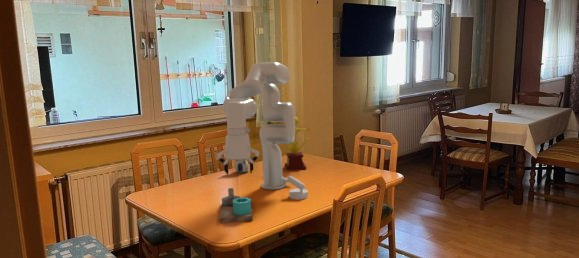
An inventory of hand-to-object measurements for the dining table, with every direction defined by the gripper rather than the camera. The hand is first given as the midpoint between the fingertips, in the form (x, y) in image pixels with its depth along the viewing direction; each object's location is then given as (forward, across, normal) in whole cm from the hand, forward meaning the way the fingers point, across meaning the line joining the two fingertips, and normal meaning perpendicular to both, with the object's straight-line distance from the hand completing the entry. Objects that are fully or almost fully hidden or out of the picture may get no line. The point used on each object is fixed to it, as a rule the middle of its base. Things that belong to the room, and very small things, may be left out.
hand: (239, 172), depth 183 cm
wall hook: (+19, -26, -22) cm, 38 cm away
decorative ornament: (+18, +1, -70) cm, 73 cm away
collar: (+17, 0, 0) cm, 17 cm away
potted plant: (+18, -30, -74) cm, 82 cm away
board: (+19, +2, -6) cm, 20 cm away
